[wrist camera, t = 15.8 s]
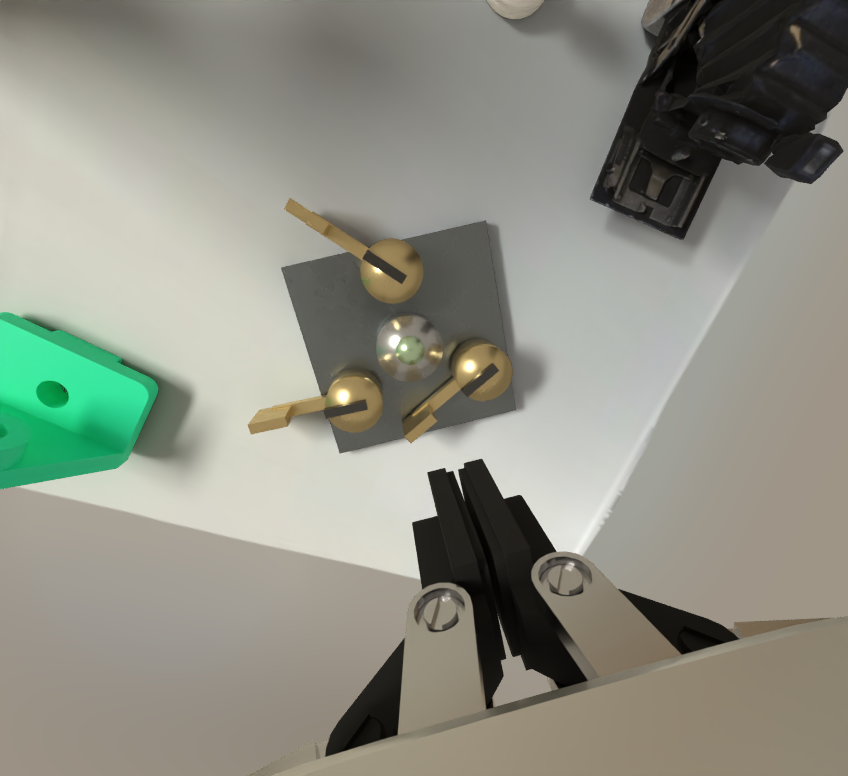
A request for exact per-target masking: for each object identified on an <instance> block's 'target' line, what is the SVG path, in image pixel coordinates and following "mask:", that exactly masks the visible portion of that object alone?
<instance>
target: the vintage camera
mask: <svg viewBox="0 0 848 776" xmlns="http://www.w3.org/2000/svg"><path fill="white" fill-rule="evenodd" d="M641 22H642V26H643V28H644V29H646V30H647V31H648V32H650V33H651V34H653V35H655V36H657V39H656V41H655V44H654V46H653V48H652V51H651V53H650V55H649V58H648V62H647V66H646V68H645V70H644V72H643V74H642V76H641V78H640V80H639V81H638V83H637V85H636V88H635V90H634V92H633V95H632V97H631V99H630V102H629V104H628V107H627V109H626V112H625V114H624V116H623V119H622V121H621V124H620V126H619V128H618V131H617V134H616V136H615V139H614V141H613V143H612V146H611V148H610V150H609V153H608V155H607V158H606V160H605V162H604V165H603V167H602V170H601V172H600V175H599V177H598V180H597V182H596V184H595V187H594V189H593V192H592V194H591V197H590V200H592V201H595V202H597V203H599V204H602V205H604V206H606V207H608V208H611V209H613V210H615V211H618V212H620V213H622V214H624V215H627V216H629V217H631V218H633V219H635V220H637V221H640V222H642V223H644V224H646V225H648V226H651V227H653V228H655V229H657V230H659V231H662V232H664V233H666V234H668V235H671V236H673V237H675V238H678V239H680V240H683V239H684V237H685V235H686V233H687V231H688V229H689V227H690V225H691V222H692V220H693V218H694V216H695V214H696V212H697V210H698V208H699V205H700V203H701V201H702V199H703V197H704V195H705V193H706V191H707V189H708V186H709V184H710V182H711V180H712V178H713V176H714V174H715V172H716V170H717V167H718V165H719V163H720V161H721V159H722V158H723V159H725V160H729V161H733V162H734V163H736V164H741V163H743V162H744V163H747V164H751V165H756V166H759V165H761V164H762V163H763V162H764V161H765V160H766V159H767V157H768V156H769V155H770V153H771V152H772V154H774V155H772V156H771V157H769V158H768V160H767V161H766V162H765V163H764V164H765V165H766V166H767V167H769V168H770V169H771V170H772V171H773V172H774V173H775V174H777V175H778V176H780V177H783V178H790V179H793V180H795V181H798V182H803V183H809V184H812V183H813V182H814V181H815V180H817V179H818V178H819V177H820V176H821V175H822V174H823V173H824V171H826V169H827V168H828V167H829V166H830V164H832V163H833V162H834V161H835V160H836V158H837V157H839V155H840V154H841V153H842V152H843V149H842V148H841V146H840V145H839V143H838V142H837V141H835V140H833V139H830V138H828V137H826V136H823V135H821V134H812V133H811V132H810V131H812V130H814V129H815V125H816V124H818V123H820V122H822V121H824V120H825V119H826V117H827V113H828V112H829V111H830V110H831V109H833V108H834V107H835V106H836V105H837V104H838V103H839V102H840V101H841V99H842V98H843V95H844V94H845V91H846V90H847V88H848V0H650V1H649V3H648V5H647V8H646V10H645V13H644V15H643V18H642V21H641Z"/></svg>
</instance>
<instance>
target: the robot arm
mask: <svg viewBox="0 0 848 776" xmlns="http://www.w3.org/2000/svg"><path fill="white" fill-rule="evenodd" d="M458 471H459V477H460V481H461V486H462V491H463V496H464V499H463V496H462V493H461V491H460V488H459V485H458V483H457V480H456V477H455V475H454V472H453V471H451V472H447V473H446V470H445V468H443V469H439V470H435V471H431V472H427V473H428V478H429V482H430V486H431V490H432V494H433V499H434V503H435V507H436V511H437V515H438V516H435V517H432V518H428V519H424V520H420V521H416V522H412V525H413V532H414V538H415V545H416V551H417V558H418V564H419V571H420V577H421V584H422V590H421V591H420V592H419V593H417V594H416V595H415V596H414V598H413V599H412V601H411V602H410V604H409V607H408V611H407V619H406V632H405V638H404V639H403V641H402V642H401V643H400V644H399V646H398V647H397V648H396V650H395V651H394V652H393V653H392V655H391V656H390V657H389V658H388V660H387V661H386V662H385V663H384V665H383V666H382V667H381V669H380V670H379V671H378V672H377V674H376V675H375V676H374V678H373V679H372V680H371V681H370V682H369V684H368V685H367V686H366V688H365V689H364V690H363V691H362V693H361V694H360V695H359V696H358V698H357V699H356V700H355V702H354V703H353V704H352V705H351V707H350V708H349V709H348V710H347V712H346V713H345V714H344V715H343V717H342V718H341V720H340V721H339V722H338V723H337V725H336V727H335V728H334V730H333V731H332V733H331V735H330V738H329V739H328V740H326V741H324V742H322V743H320V744H319V745H316V742H315V740H313V741H311V742H309V743H307V744H305V745H304V746H302V747H300V748H298V749H296V750H295V751H293V752H291V753H289V754H287V755H285V756H283V757H281V758H280V759H278V760H276V761H274V762H272V763H270V764H269V765H267V766H265V767H263V768H261V769H259V770H257V771H256V772H254V773H252V774H250V775H248V776H848V616H846V617H837V618H820V619H819V618H818V619H796V620H776V621H753V622H735V623H734V629H727V628H725V627H724V626H722V625H720V624H718V623H716V622H713V621H711V620H709V619H707V618H704V617H701V616H697V615H694V614H692V613H689V612H686V611H683V610H679V609H677V608H673V607H671V606H667V605H665V604H662V603H659V602H655V601H653V600H650V599H647V598H644V597H641V596H637V595H635V594H632V593H629V592H626V591H623V590H620V589H617V588H616V587H615V586H614V585H613V583H611V581H610V580H609V579H608V578H607V577H606V576H605V575H604V574H603V573H602V572H601V571H600V570H599V569H598V568H597V567H596V566H595V565H594V564H593V563H592V562H591V561H589V560H588V559H587V558H585V557H583V556H581V555H578V554H576V553H571V552H556V550H555V548H554V547H553V545H552V544H551V542H550V540H549V539H548V537H547V536H546V534H545V532H544V531H543V529H542V527H541V526H540V524H539V523H538V521H537V519H536V518H535V516H534V515H533V513H532V511H531V510H530V508H529V507H528V505H527V503H526V502H525V500H524V499H523V497H522V496H521V495H517V496H513V497H509V498H505V499H503V497H502V495H501V493H500V491H499V489H498V487H497V486H496V484H495V482H494V480H493V478H492V476H491V474H490V473H489V471H488V469H487V467H486V465H485V463H484V462H483V460H482V459H479V460H475V461H471V462H467V463H464V468H463V469H459V470H458ZM464 500H465V501H464ZM497 614H498V615H497ZM498 617H499V620H500V623H501V625H502V628H503V631H504V633H505V637H506V640H507V642H508V645H509V648H510V651H511V654H512V656H513V657H515V656H519V655H521V658H522V660H523V663H524V666H525V668H526V670H529V669H534V670H535V671H537V672H539V673H541V674H543V675H545V676H547V680H548V683H549V685H550V688H551V690H552V691H551V692H547V693H543V694H540V695H536V696H533V697H529V698H526V699H522V700H518V701H515V702H511V703H508V704H504V705H501V706H497V707H495V704H494V699H493V695H494V693H495V691H496V689H497V687H498V686H499V684H500V682H501V680H502V678H503V676H504V675H503V670H502V665H501V660H504V659H506V655H505V650H504V645H503V640H502V635H501V630H500V625H499V620H498Z"/></svg>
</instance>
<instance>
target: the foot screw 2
mask: <svg viewBox="0 0 848 776" xmlns="http://www.w3.org/2000/svg"><path fill="white" fill-rule="evenodd" d="M320 410H324V413H325V417H326V419H327V418H328V419H329V420H330V421H331V423H332V424H333V425H335V426H336V427H337V428H339V429H341V430H343V431H346V432H352V433H356V432H362V431H365V430H368V429H369V428H371V427H372V426H374V425H375V424H376V423H377V421H378V420H379V418H380V416H381V414H382V410H383V397H382V388H381V385H380V383H379V381H378V379H377V378H376V377H375V376H374V375H373V374H371V373H370V372H368V371H366V370H363V369H357V368H354V369H348V370H345V371H343V372H341V373H339V374H338V375H337V376H336V377H335V378H334V379H333V381H332V383H331V385H330V388H329V391H328V393H327V395H323V396H318V397H313V398H309V399H304V400H299V401H295V402H290V403H285V404H281V405H276V406H273V407H271V408H266V409H261V410H259V411H258V412H257V413H256V415H255V416H254V417H253V419H252V420H251V421H250V422H249V424H248V427H249V430H250V433H251V434H255V433H260V432H264V431H269V430H273V429H278V428H283V427H287V426H288V425H289V423H290V421H291V419H292V417H293V416H297V415H302V414H306V413H311V412H316V411H320Z"/></svg>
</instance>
